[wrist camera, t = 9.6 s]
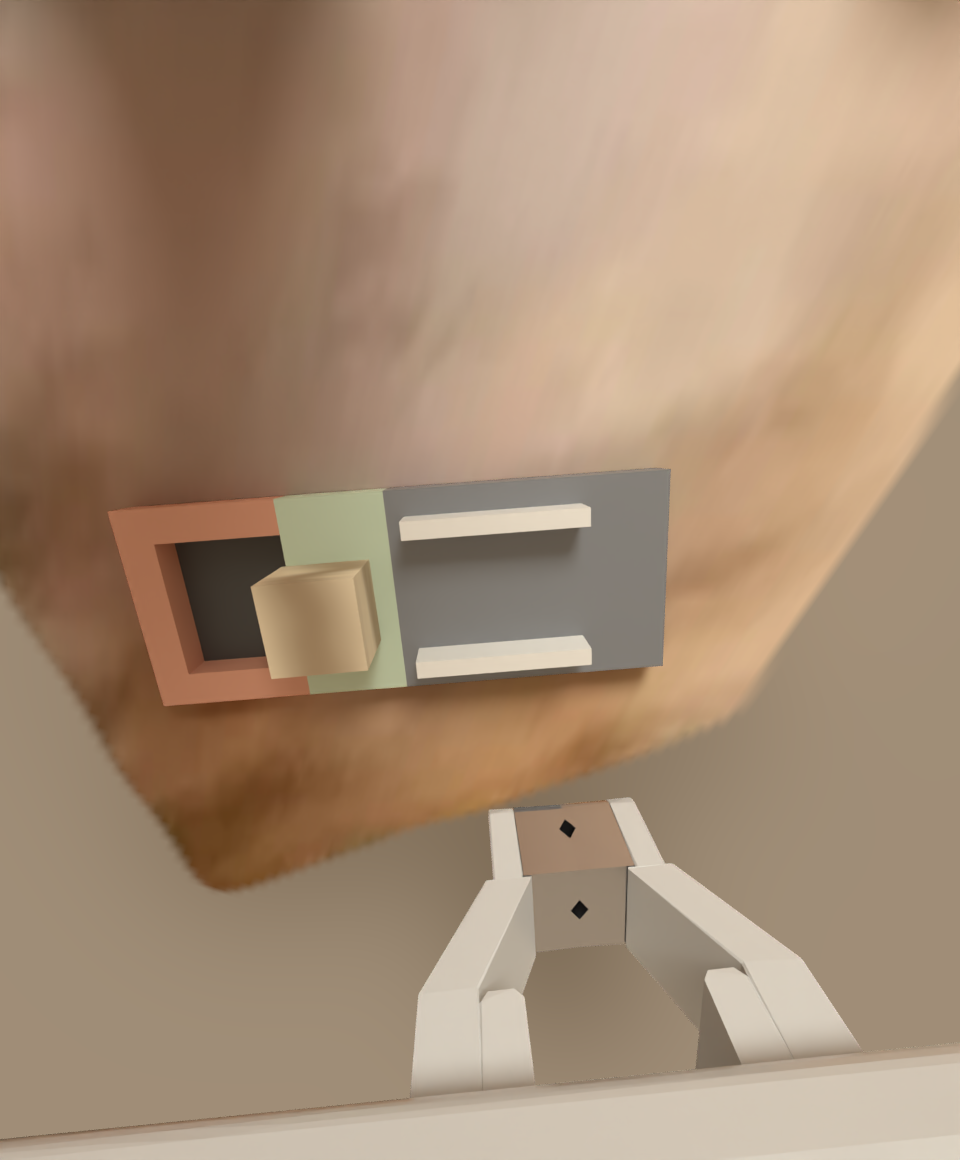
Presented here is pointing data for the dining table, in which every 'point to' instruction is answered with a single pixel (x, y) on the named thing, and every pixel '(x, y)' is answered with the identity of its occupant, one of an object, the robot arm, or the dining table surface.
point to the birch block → (318, 618)
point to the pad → (348, 534)
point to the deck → (409, 580)
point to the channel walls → (506, 652)
